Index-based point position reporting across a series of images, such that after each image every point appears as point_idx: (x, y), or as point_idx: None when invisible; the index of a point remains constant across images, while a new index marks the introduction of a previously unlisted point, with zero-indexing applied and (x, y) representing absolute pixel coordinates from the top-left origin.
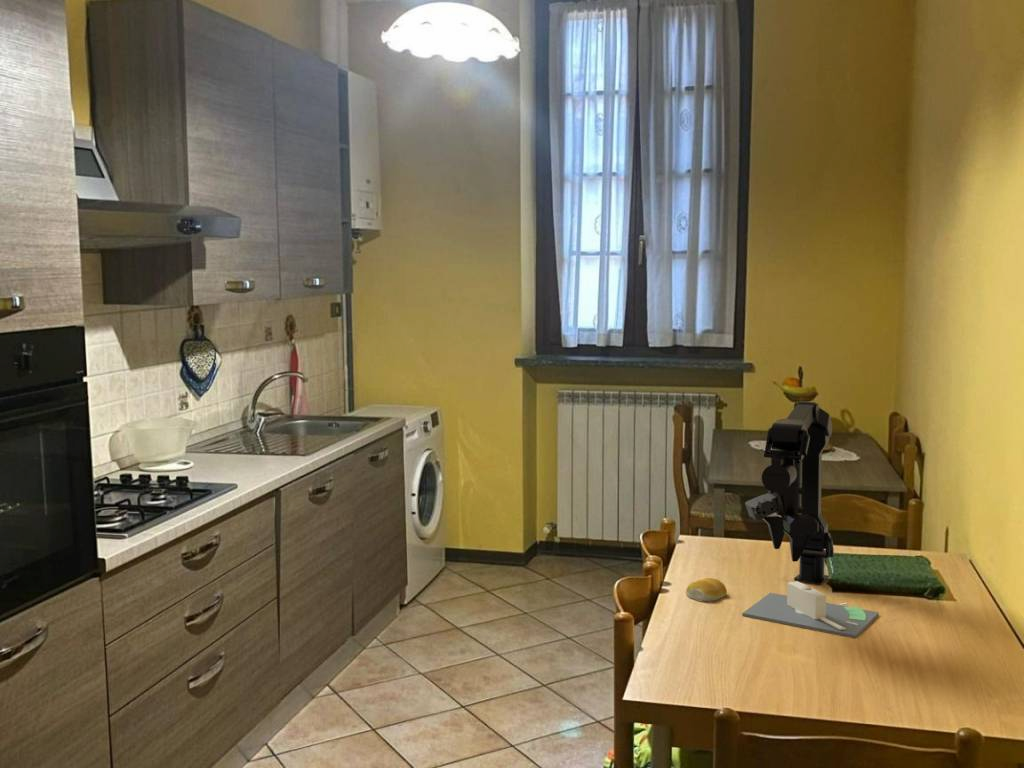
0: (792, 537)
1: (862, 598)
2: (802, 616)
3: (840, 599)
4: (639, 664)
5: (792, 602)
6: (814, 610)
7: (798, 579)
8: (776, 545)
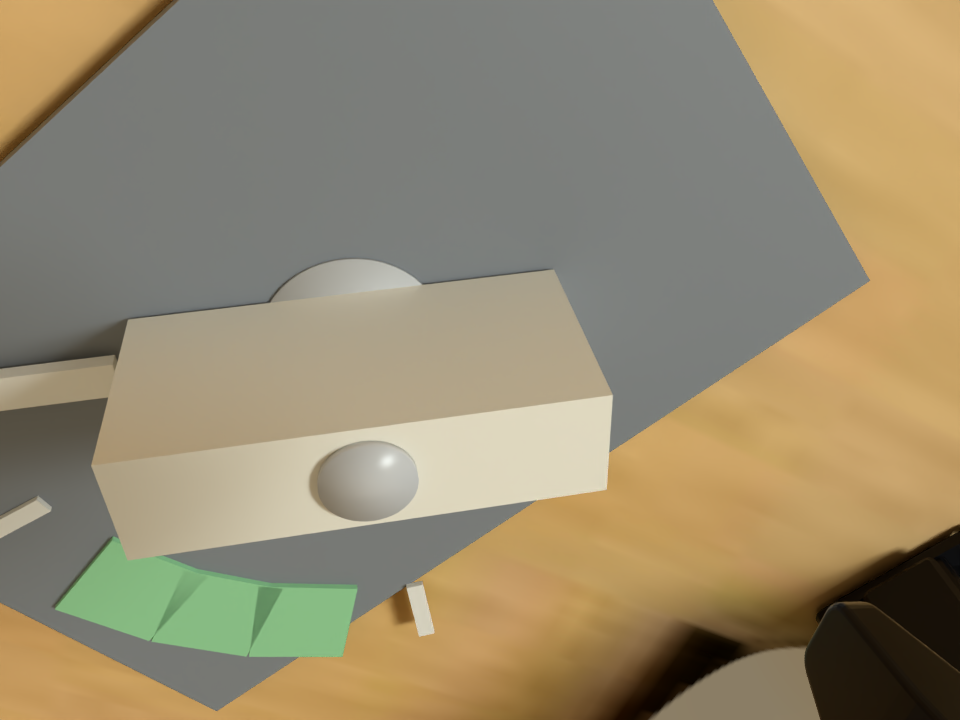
0: None
1: (516, 709)
2: (246, 261)
3: (551, 619)
4: None
5: (480, 304)
6: (129, 365)
7: (950, 547)
8: (858, 678)
